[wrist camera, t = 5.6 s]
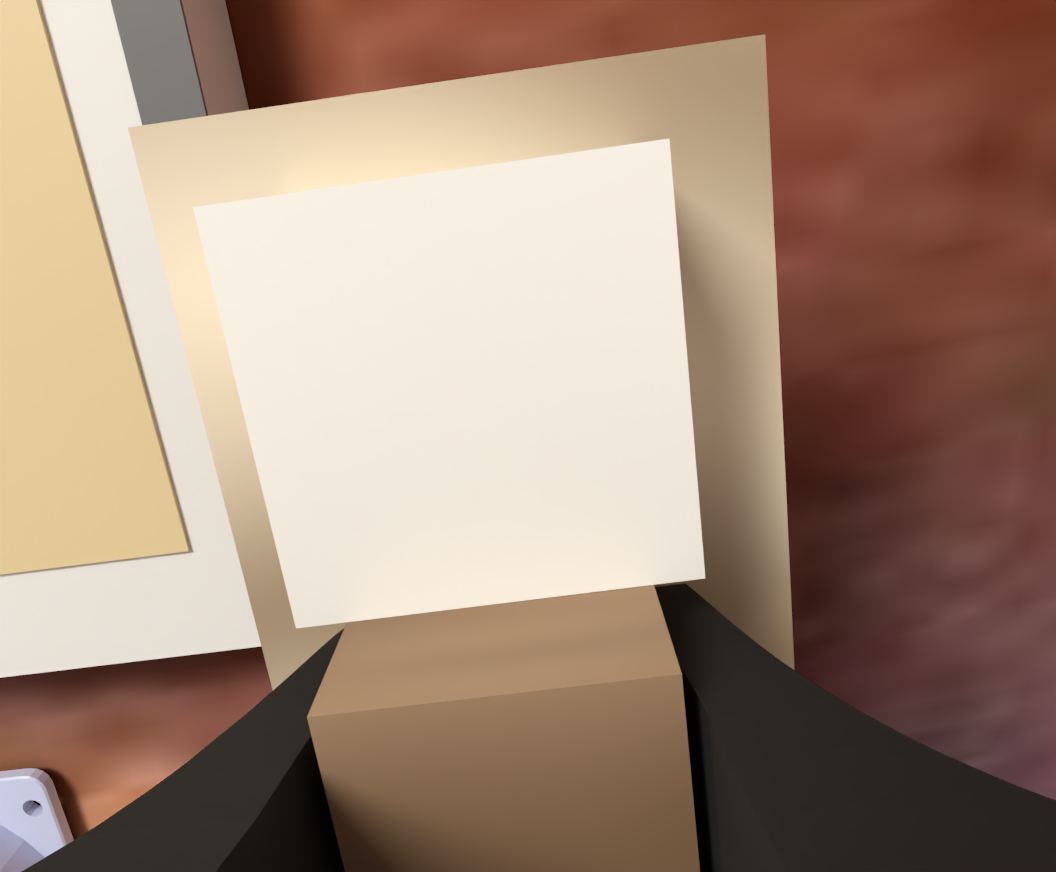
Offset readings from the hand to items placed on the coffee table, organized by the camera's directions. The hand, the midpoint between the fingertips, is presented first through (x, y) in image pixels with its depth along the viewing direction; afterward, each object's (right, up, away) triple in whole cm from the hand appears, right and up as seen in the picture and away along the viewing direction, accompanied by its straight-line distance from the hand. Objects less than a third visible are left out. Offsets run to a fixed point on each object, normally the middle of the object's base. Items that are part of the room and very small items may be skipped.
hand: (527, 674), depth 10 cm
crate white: (-1, +4, -1) cm, 4 cm away
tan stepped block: (0, +1, +3) cm, 3 cm away
